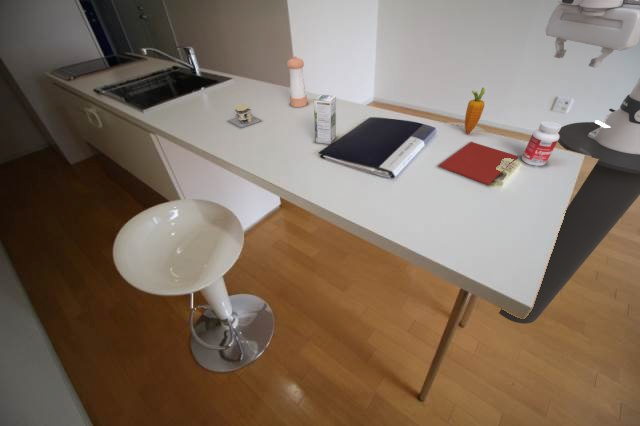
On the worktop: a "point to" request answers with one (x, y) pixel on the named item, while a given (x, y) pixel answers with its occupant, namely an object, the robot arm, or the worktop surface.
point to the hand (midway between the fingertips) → (575, 61)
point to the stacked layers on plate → (243, 116)
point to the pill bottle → (542, 143)
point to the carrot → (474, 111)
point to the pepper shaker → (297, 82)
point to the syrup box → (325, 118)
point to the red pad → (476, 162)
